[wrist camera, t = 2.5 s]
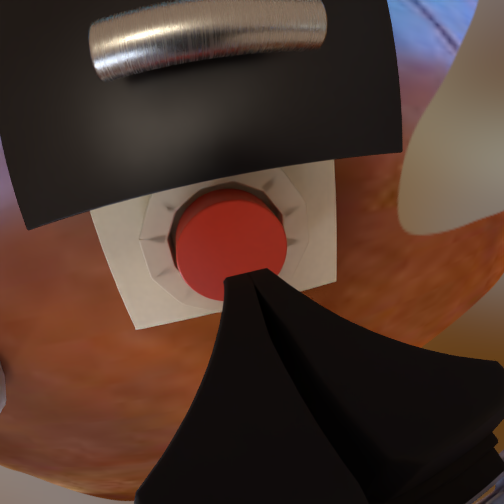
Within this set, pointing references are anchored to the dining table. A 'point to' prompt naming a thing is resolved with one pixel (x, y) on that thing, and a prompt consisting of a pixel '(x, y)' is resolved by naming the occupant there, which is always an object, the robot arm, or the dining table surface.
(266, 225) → the button
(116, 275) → the button base
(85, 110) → the lid
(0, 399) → the salt shaker
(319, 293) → the dining table surface
